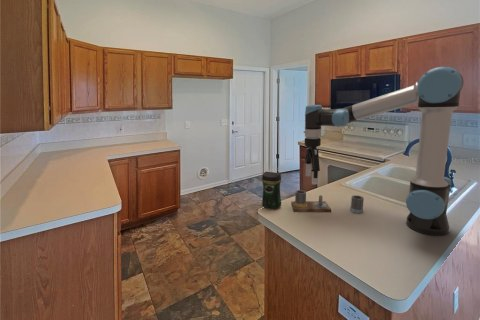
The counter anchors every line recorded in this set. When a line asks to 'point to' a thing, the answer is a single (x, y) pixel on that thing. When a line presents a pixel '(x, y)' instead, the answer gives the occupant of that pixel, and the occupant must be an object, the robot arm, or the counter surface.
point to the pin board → (312, 206)
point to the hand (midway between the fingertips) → (311, 180)
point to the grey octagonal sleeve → (357, 204)
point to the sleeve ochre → (300, 198)
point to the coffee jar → (271, 190)
